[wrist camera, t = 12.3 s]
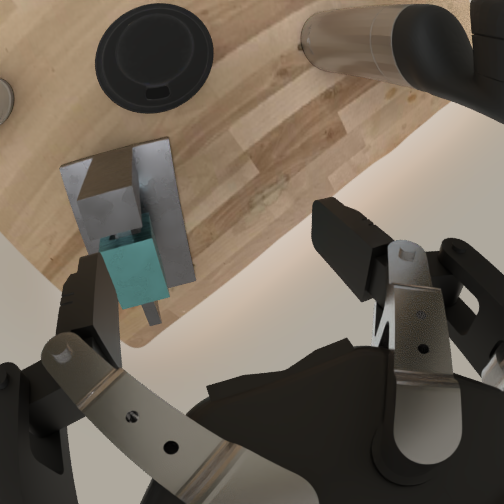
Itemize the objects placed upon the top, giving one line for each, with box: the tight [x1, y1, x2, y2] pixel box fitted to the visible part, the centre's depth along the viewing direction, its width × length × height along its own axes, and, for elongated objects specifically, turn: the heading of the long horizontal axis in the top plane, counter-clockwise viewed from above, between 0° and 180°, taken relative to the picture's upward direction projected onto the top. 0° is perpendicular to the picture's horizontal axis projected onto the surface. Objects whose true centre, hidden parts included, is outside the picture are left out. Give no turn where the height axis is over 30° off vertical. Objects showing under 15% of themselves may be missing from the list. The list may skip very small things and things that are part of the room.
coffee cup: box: [95, 3, 213, 114], centre depth 25 cm, size 9×9×15 cm
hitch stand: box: [59, 137, 196, 326], centre depth 36 cm, size 14×22×14 cm, turn 4°
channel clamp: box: [99, 212, 170, 309], centre depth 35 cm, size 8×6×6 cm
